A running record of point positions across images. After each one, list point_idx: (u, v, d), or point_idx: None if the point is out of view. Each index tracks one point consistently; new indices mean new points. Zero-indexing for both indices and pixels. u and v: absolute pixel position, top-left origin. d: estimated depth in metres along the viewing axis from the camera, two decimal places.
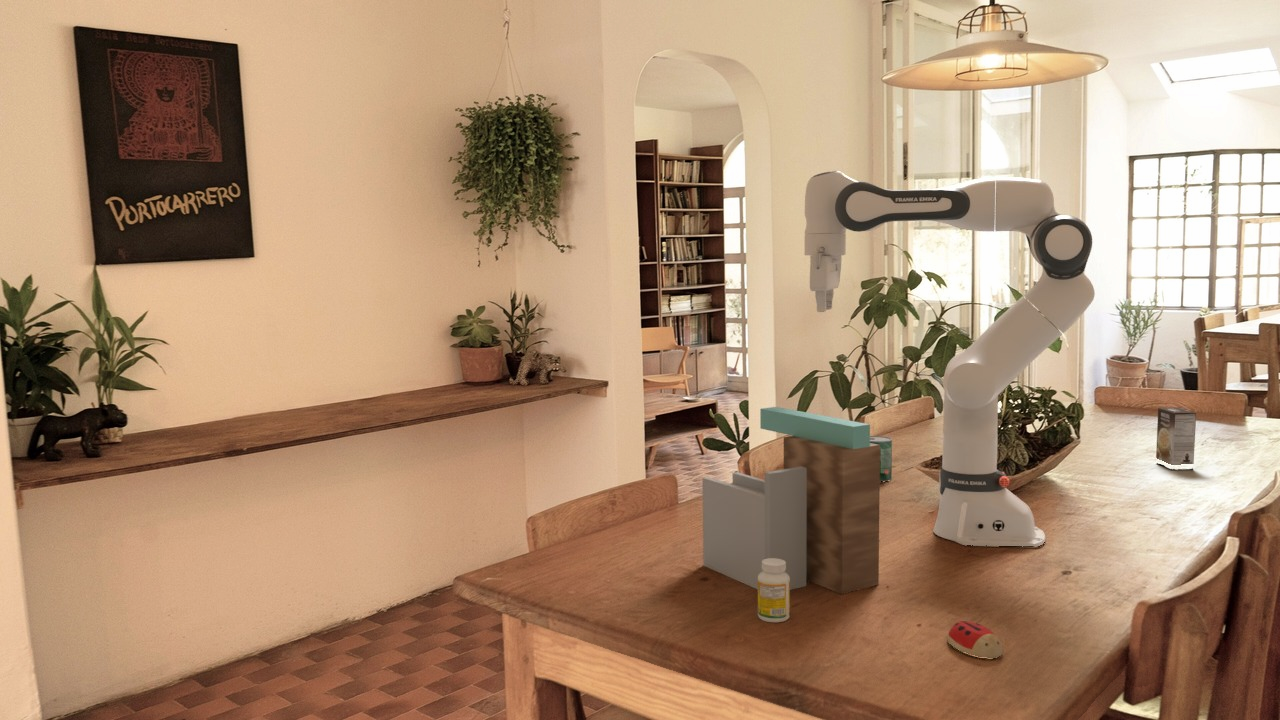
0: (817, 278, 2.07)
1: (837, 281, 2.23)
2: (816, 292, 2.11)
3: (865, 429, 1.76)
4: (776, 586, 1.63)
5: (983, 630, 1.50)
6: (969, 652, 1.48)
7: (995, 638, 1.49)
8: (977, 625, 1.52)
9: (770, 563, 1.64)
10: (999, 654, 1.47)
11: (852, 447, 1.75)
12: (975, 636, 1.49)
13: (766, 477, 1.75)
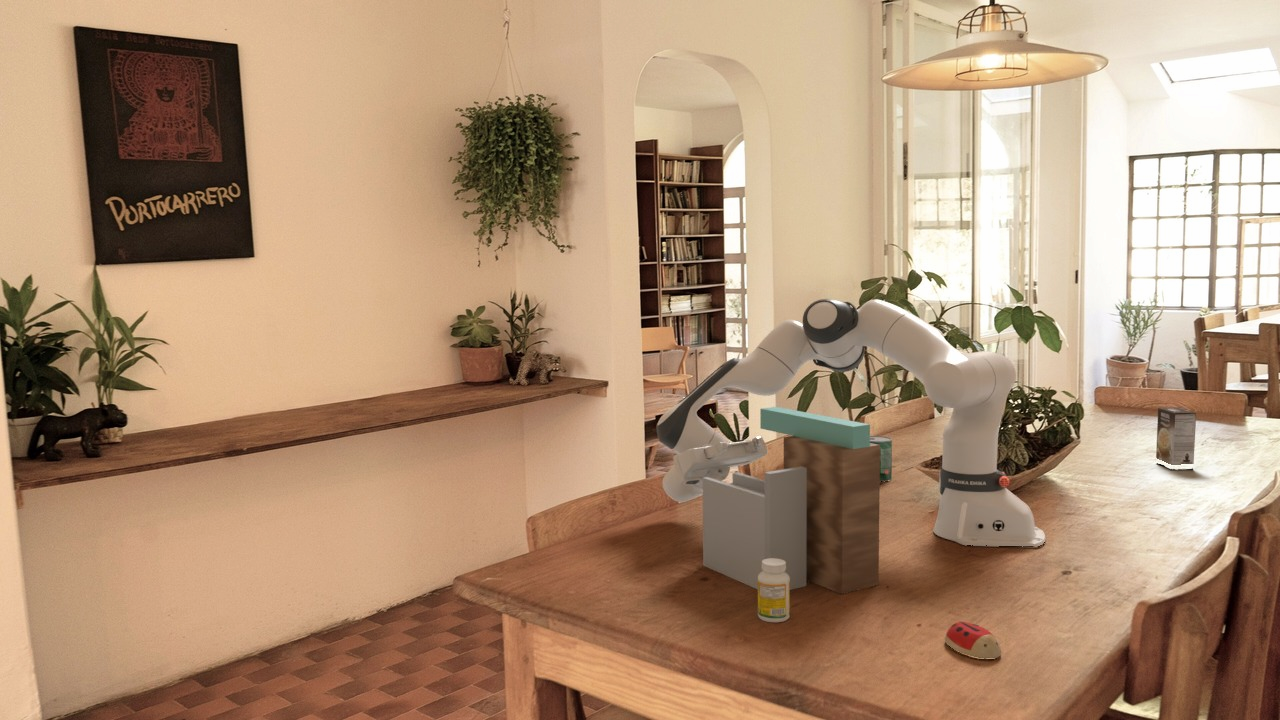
0: None
1: (702, 465, 2.06)
2: None
3: (865, 429, 1.76)
4: (776, 586, 1.63)
5: (981, 631, 1.50)
6: (968, 653, 1.48)
7: (993, 639, 1.48)
8: (975, 626, 1.52)
9: (770, 563, 1.64)
10: (998, 655, 1.47)
11: (852, 447, 1.75)
12: (973, 637, 1.49)
13: (766, 477, 1.75)
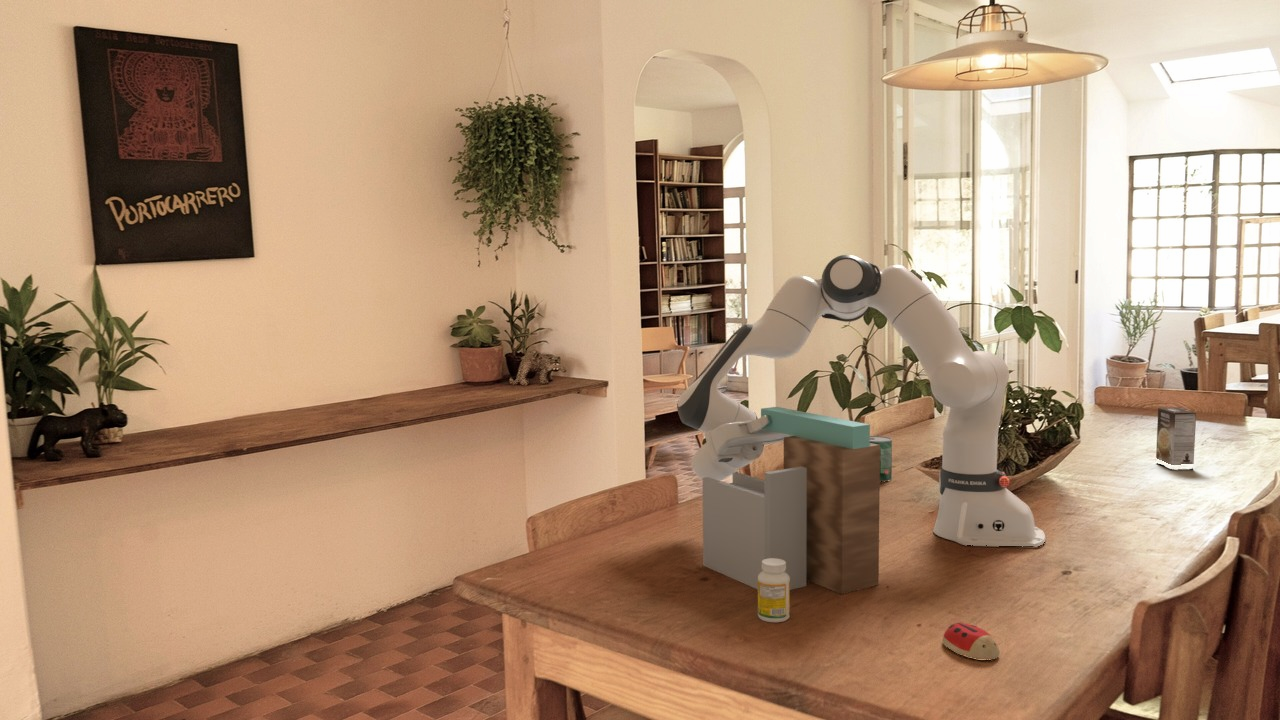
0: None
1: (737, 441, 1.96)
2: None
3: (864, 429, 1.76)
4: (776, 586, 1.63)
5: (979, 632, 1.50)
6: (966, 654, 1.48)
7: (992, 639, 1.48)
8: (972, 627, 1.52)
9: (770, 563, 1.64)
10: (996, 655, 1.47)
11: (852, 447, 1.75)
12: (972, 637, 1.48)
13: (766, 477, 1.75)
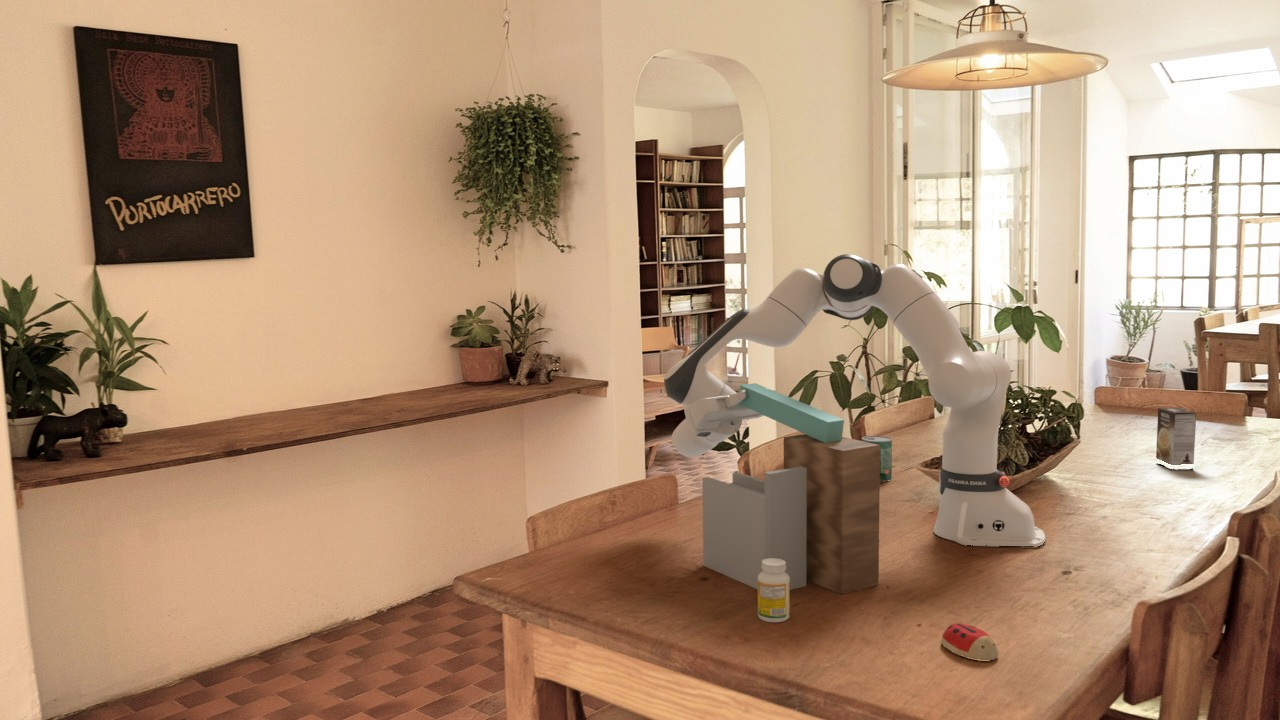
0: None
1: (715, 415, 2.00)
2: None
3: (838, 424, 1.81)
4: (776, 586, 1.63)
5: (978, 632, 1.49)
6: (965, 655, 1.47)
7: (991, 640, 1.48)
8: (971, 627, 1.51)
9: (770, 563, 1.64)
10: (995, 656, 1.47)
11: (824, 441, 1.81)
12: (971, 638, 1.48)
13: (766, 477, 1.75)
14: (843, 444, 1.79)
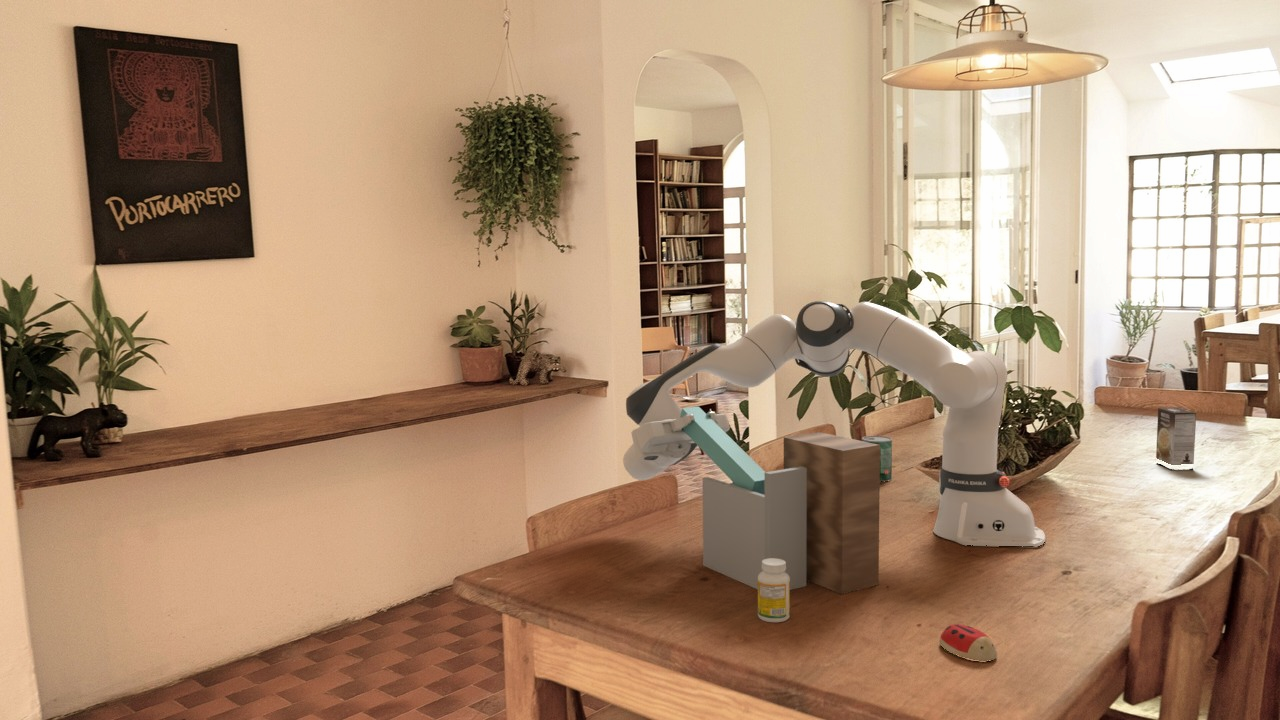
0: None
1: (660, 439, 1.98)
2: None
3: None
4: (776, 586, 1.63)
5: (977, 633, 1.49)
6: (964, 656, 1.47)
7: (989, 641, 1.48)
8: (970, 628, 1.51)
9: (770, 563, 1.64)
10: (994, 657, 1.47)
11: None
12: (969, 639, 1.48)
13: (766, 477, 1.75)
14: (843, 444, 1.79)
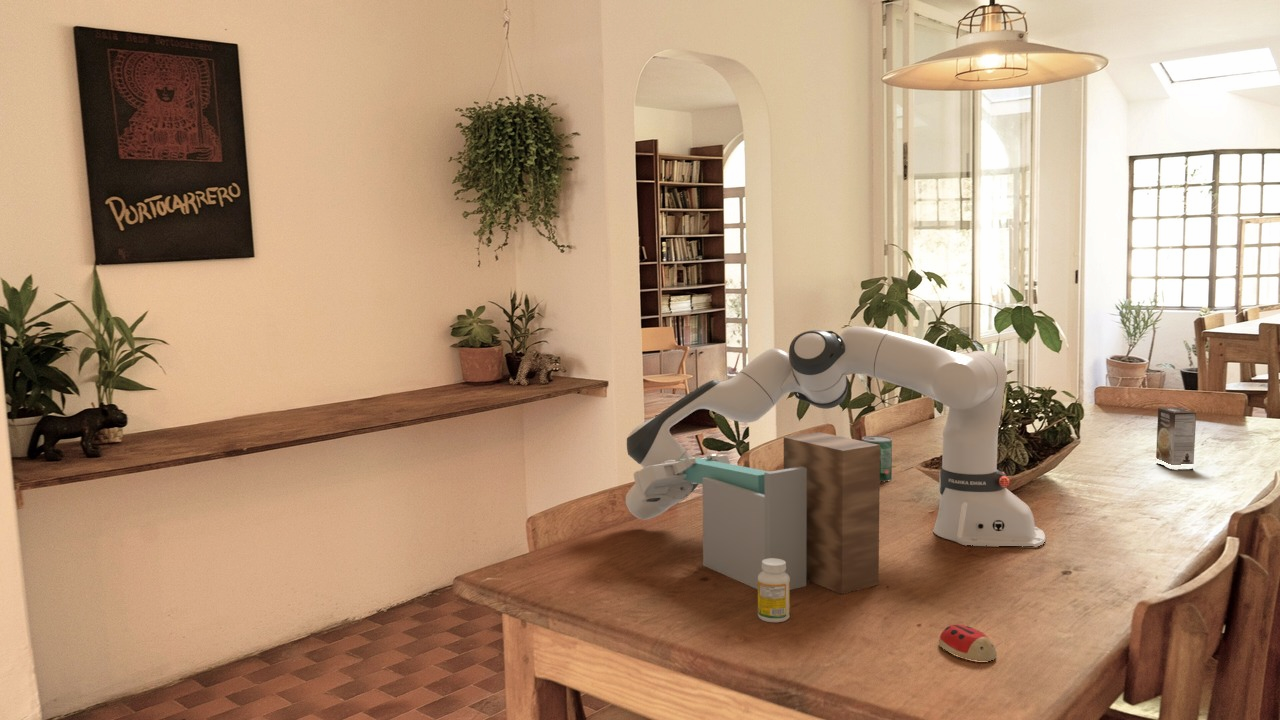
0: None
1: (662, 482, 1.99)
2: None
3: None
4: (776, 586, 1.63)
5: (976, 633, 1.49)
6: (964, 656, 1.47)
7: (989, 641, 1.48)
8: (969, 628, 1.51)
9: (770, 563, 1.64)
10: (994, 657, 1.47)
11: None
12: (969, 639, 1.48)
13: (766, 477, 1.75)
14: (843, 444, 1.79)
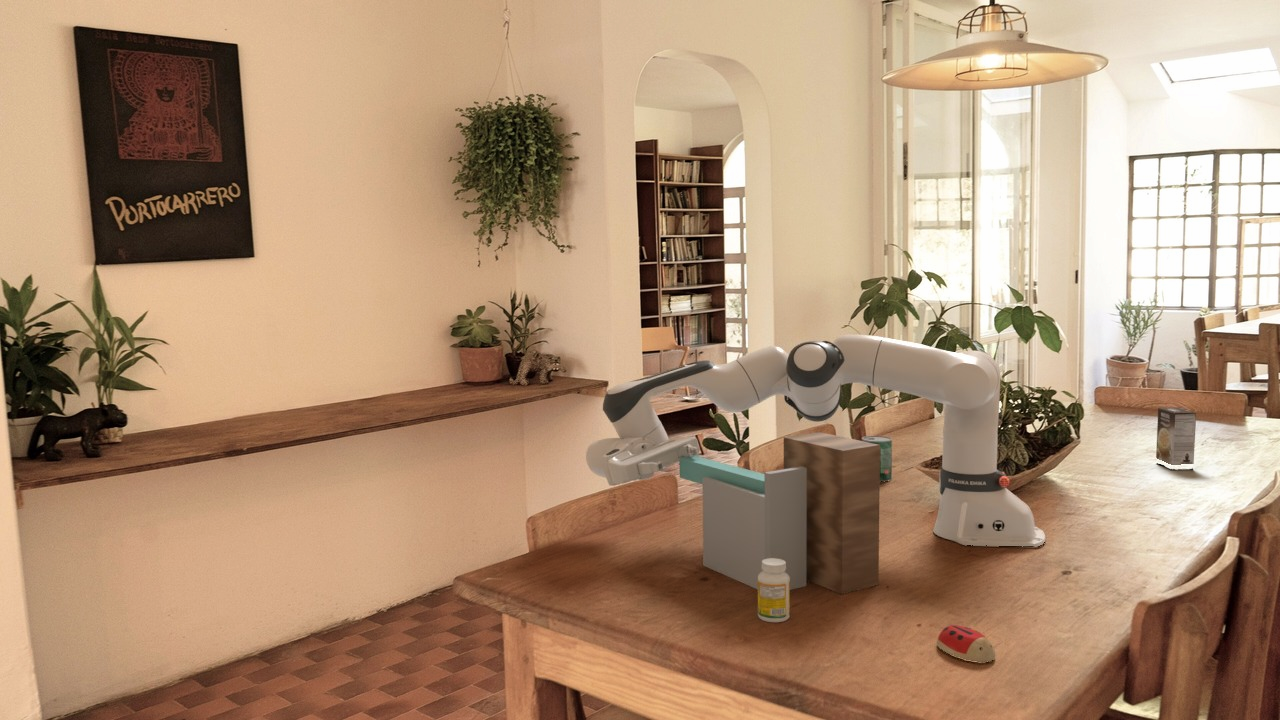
0: None
1: None
2: None
3: None
4: (776, 586, 1.63)
5: (975, 634, 1.49)
6: (963, 657, 1.47)
7: (988, 641, 1.47)
8: (967, 629, 1.51)
9: (770, 563, 1.64)
10: (993, 657, 1.46)
11: None
12: (968, 640, 1.47)
13: (766, 477, 1.75)
14: (843, 444, 1.79)
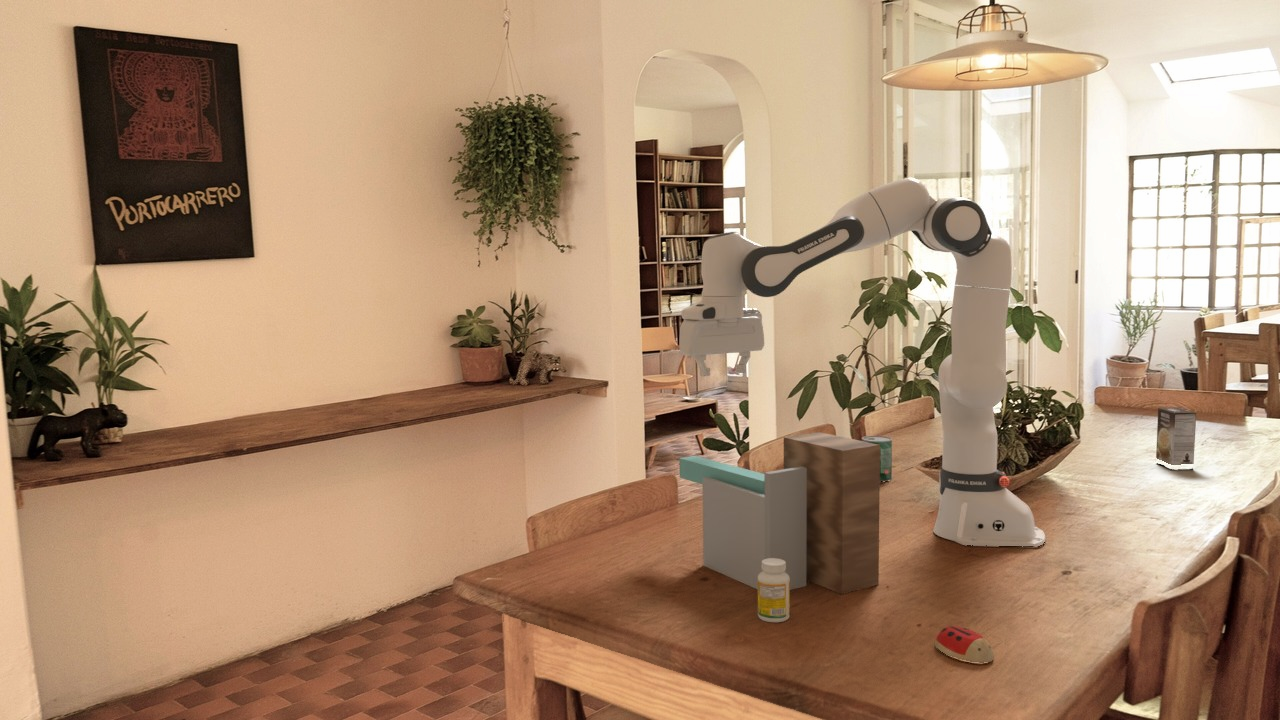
0: None
1: None
2: None
3: None
4: (776, 586, 1.63)
5: (973, 635, 1.49)
6: (962, 658, 1.46)
7: (986, 642, 1.47)
8: (965, 630, 1.51)
9: (770, 563, 1.64)
10: (991, 658, 1.46)
11: None
12: (967, 641, 1.47)
13: (766, 477, 1.75)
14: (843, 444, 1.79)
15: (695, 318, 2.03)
